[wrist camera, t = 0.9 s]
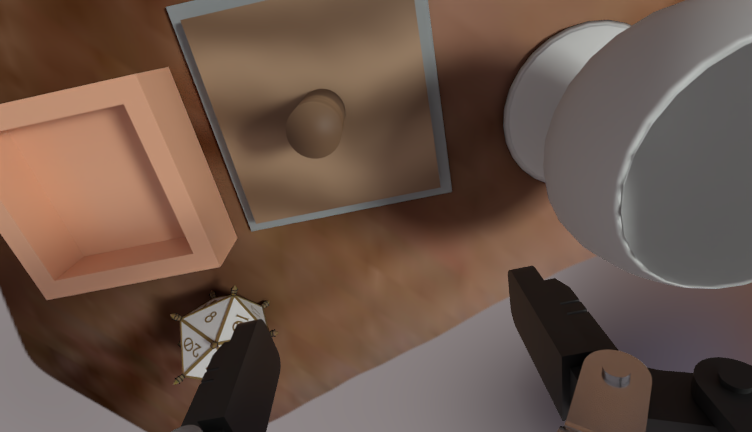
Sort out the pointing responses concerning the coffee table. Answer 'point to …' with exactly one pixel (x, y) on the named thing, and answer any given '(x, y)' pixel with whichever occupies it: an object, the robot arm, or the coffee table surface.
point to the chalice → (646, 139)
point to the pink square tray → (108, 187)
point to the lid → (318, 101)
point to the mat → (204, 4)
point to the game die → (212, 330)
